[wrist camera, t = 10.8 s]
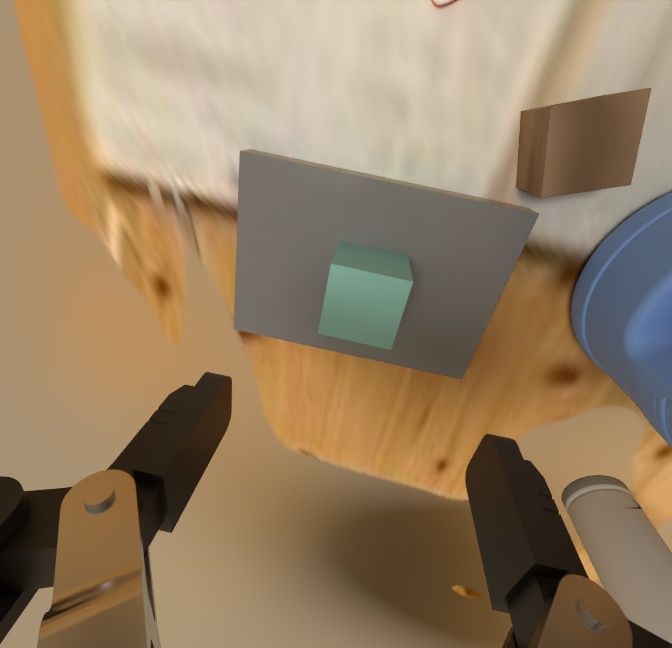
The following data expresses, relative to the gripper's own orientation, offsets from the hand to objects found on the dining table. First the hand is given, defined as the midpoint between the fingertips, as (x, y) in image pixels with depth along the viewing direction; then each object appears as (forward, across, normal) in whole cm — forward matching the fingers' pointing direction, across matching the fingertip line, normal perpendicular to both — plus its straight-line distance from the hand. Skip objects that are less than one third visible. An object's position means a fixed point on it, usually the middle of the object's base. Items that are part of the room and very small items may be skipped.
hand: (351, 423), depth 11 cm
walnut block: (+19, -10, -9) cm, 23 cm away
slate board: (+18, 0, +2) cm, 19 cm away
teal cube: (+16, 0, +2) cm, 17 cm away
